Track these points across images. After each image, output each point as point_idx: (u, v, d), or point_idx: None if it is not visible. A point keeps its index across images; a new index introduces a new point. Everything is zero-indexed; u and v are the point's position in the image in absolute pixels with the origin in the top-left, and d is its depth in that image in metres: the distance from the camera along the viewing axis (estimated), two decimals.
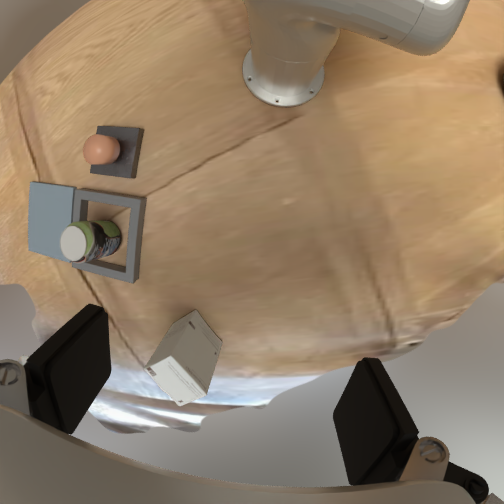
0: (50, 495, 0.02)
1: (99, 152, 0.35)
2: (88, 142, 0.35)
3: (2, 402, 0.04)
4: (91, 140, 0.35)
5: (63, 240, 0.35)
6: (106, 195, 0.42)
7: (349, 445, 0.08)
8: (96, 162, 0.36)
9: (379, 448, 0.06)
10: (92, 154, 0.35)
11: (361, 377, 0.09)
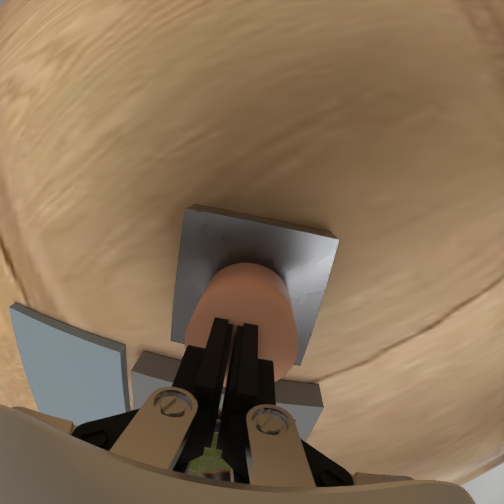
0: (50, 495, 0.02)
1: None
2: (208, 322, 0.11)
3: (150, 430, 0.05)
4: (222, 316, 0.10)
5: None
6: None
7: (222, 409, 0.09)
8: None
9: (225, 407, 0.07)
10: None
11: (235, 341, 0.10)
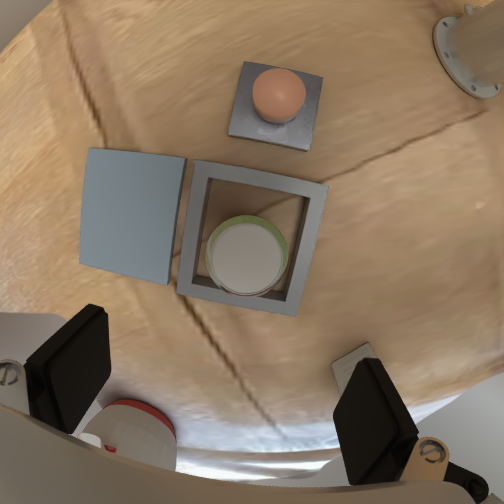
0: (50, 495, 0.02)
1: (289, 97, 0.22)
2: (264, 79, 0.21)
3: (2, 402, 0.04)
4: (271, 76, 0.21)
5: (221, 253, 0.20)
6: (264, 173, 0.27)
7: (349, 445, 0.08)
8: (282, 113, 0.22)
9: (379, 448, 0.06)
10: (274, 98, 0.22)
11: (361, 377, 0.09)
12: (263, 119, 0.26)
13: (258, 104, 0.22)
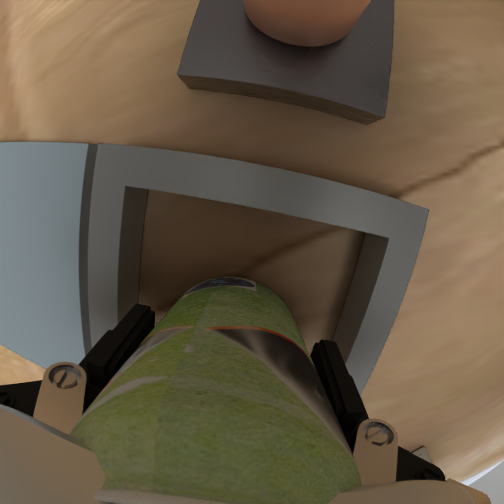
0: (50, 495, 0.02)
1: None
2: None
3: (54, 404, 0.05)
4: None
5: None
6: (272, 173, 0.10)
7: None
8: None
9: None
10: None
11: (316, 358, 0.10)
12: (268, 35, 0.08)
13: None
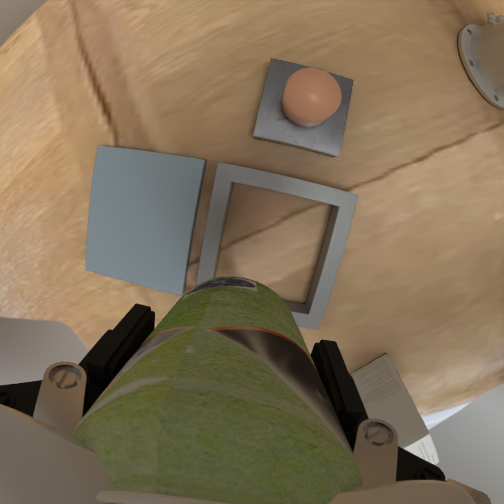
0: (50, 495, 0.02)
1: (324, 100, 0.20)
2: (298, 78, 0.19)
3: (54, 404, 0.05)
4: (305, 75, 0.19)
5: None
6: (292, 179, 0.25)
7: None
8: (317, 116, 0.20)
9: None
10: (308, 100, 0.20)
11: (316, 358, 0.10)
12: (292, 121, 0.24)
13: (291, 105, 0.20)
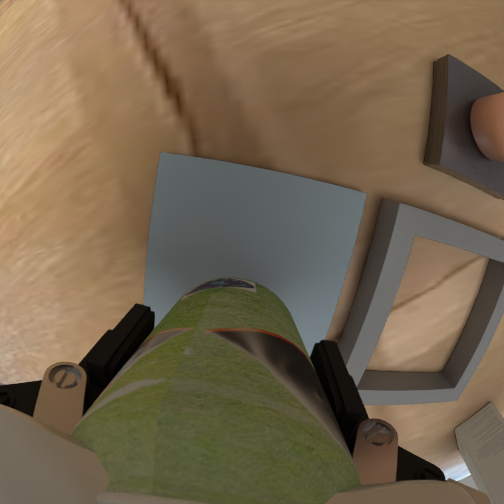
0: (50, 495, 0.02)
1: None
2: None
3: (54, 404, 0.05)
4: None
5: None
6: (478, 233, 0.14)
7: None
8: None
9: None
10: None
11: (316, 358, 0.10)
12: (481, 151, 0.13)
13: None
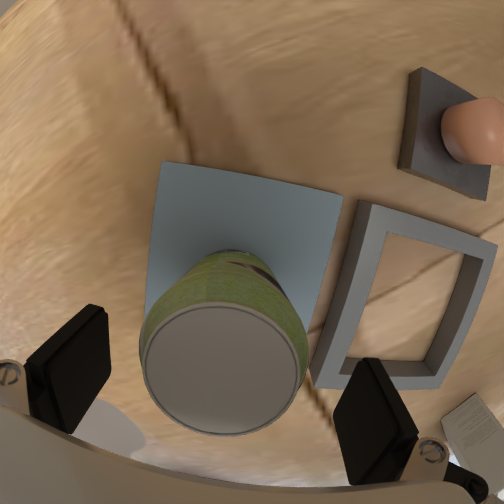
0: (50, 495, 0.02)
1: None
2: (485, 108, 0.11)
3: (2, 402, 0.04)
4: (490, 107, 0.11)
5: (165, 364, 0.08)
6: (449, 230, 0.17)
7: (349, 445, 0.08)
8: (502, 161, 0.12)
9: (379, 447, 0.06)
10: (495, 139, 0.12)
11: (361, 377, 0.09)
12: (451, 155, 0.16)
13: (482, 144, 0.12)
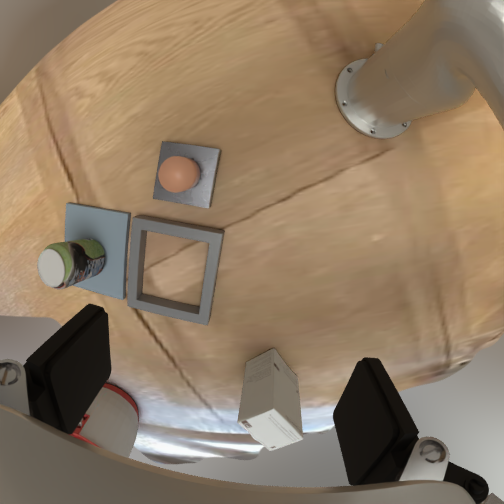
0: (50, 495, 0.02)
1: (182, 178, 0.33)
2: (166, 165, 0.33)
3: (2, 402, 0.04)
4: (170, 163, 0.33)
5: (41, 264, 0.30)
6: (176, 227, 0.39)
7: (349, 445, 0.08)
8: (178, 190, 0.34)
9: (379, 448, 0.06)
10: (172, 180, 0.33)
11: (361, 377, 0.09)
12: None
13: (162, 185, 0.34)
